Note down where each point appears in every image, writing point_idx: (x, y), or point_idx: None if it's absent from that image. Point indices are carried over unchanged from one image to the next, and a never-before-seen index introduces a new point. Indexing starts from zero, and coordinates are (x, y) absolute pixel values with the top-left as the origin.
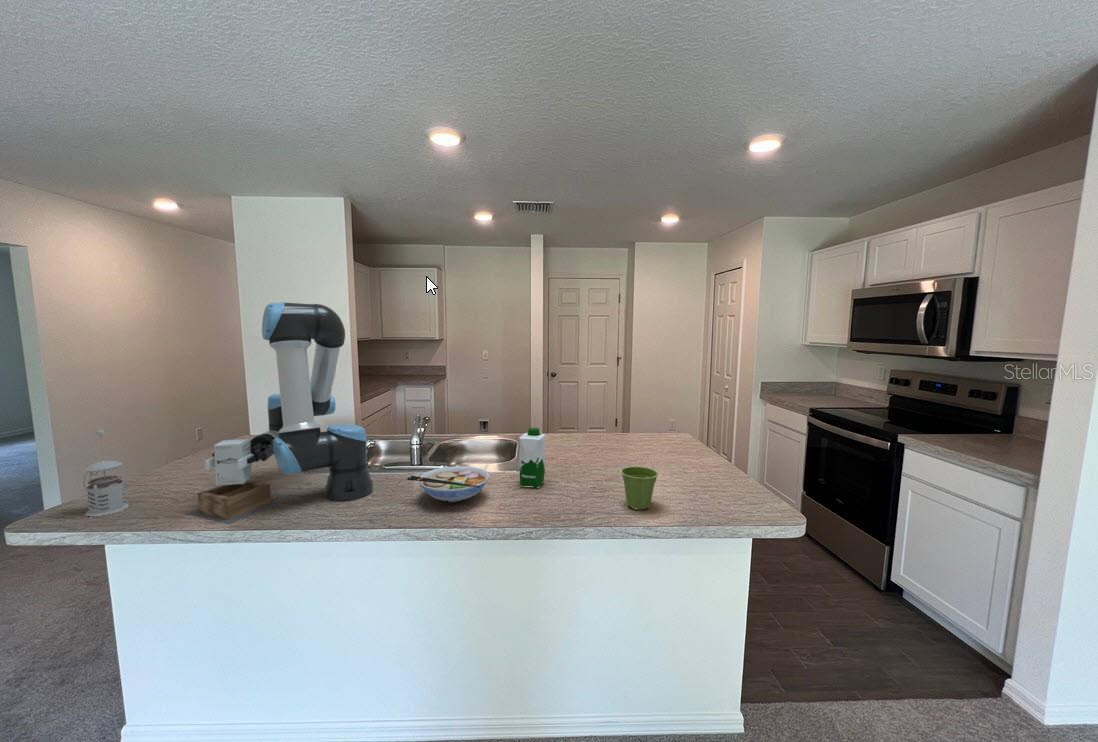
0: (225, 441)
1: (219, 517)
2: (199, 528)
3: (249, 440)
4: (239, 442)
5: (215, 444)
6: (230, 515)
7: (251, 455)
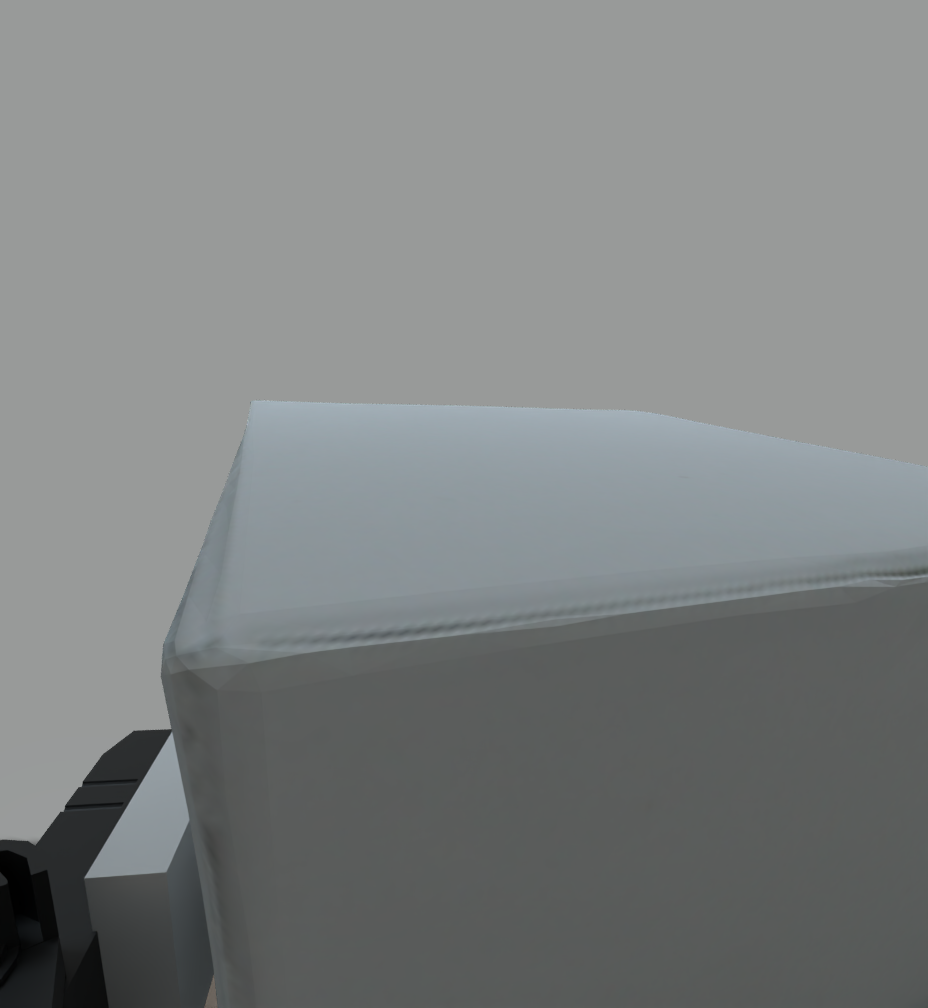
0: (746, 444)
1: None
2: None
3: (192, 599)
4: (329, 409)
5: (651, 413)
6: None
7: (125, 833)
